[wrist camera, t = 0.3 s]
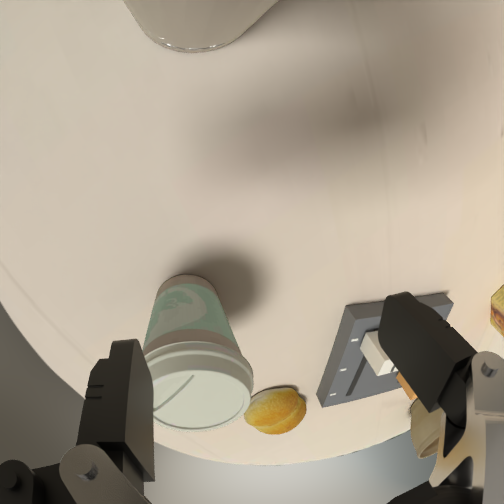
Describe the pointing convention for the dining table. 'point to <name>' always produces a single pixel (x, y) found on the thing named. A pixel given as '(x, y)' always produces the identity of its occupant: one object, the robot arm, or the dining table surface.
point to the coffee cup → (194, 359)
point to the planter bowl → (425, 429)
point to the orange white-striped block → (406, 387)
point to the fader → (376, 354)
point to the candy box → (498, 310)
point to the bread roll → (275, 410)
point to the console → (353, 360)
